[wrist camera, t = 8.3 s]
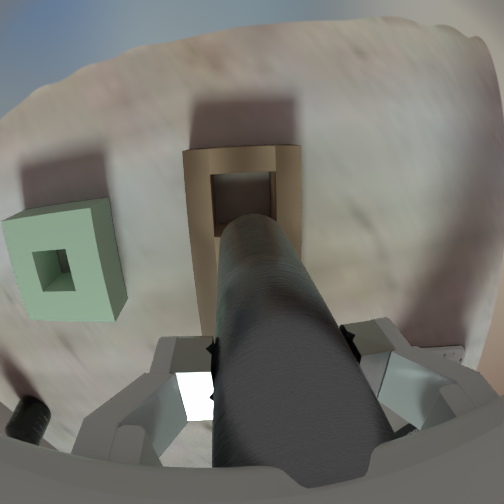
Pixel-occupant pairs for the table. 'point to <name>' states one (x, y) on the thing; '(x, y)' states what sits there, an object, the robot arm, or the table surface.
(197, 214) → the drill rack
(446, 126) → the table surface
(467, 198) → the table surface
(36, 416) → the supplement bottle
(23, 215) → the socket block
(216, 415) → the steel peg
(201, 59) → the table surface
